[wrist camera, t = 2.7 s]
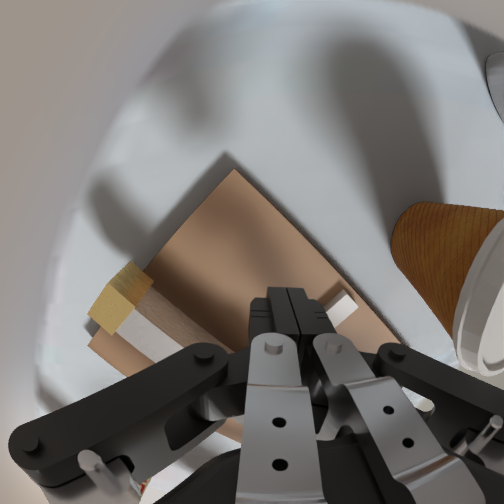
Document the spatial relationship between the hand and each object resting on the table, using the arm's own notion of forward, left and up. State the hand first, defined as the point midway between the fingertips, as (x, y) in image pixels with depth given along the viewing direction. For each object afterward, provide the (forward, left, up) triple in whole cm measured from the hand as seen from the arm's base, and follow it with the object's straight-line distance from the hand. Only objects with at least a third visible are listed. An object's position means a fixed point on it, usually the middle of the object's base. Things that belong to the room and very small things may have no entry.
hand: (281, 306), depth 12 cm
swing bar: (+8, +1, -6) cm, 9 cm away
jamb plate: (+8, +7, -8) cm, 13 cm away
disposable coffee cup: (-9, +9, -8) cm, 15 cm away
